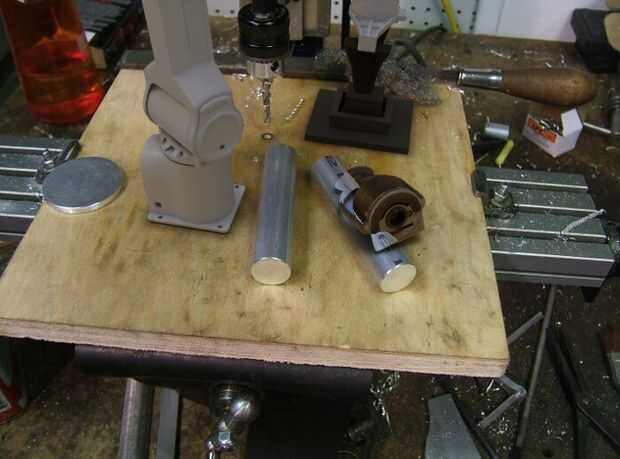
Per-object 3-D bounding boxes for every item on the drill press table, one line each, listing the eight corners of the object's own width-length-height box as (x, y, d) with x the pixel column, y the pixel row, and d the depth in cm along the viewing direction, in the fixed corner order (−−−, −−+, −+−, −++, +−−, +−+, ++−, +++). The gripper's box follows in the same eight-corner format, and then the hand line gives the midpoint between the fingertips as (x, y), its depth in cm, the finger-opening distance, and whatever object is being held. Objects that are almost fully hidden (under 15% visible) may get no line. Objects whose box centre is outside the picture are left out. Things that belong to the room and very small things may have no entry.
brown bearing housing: (332, 222, 57) (431, 208, 56) (326, 138, 65) (412, 124, 64) (341, 262, 62) (432, 251, 61) (335, 180, 71) (414, 168, 69)
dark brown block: (342, 122, 77) (345, 97, 75) (346, 106, 80) (349, 81, 77) (378, 127, 77) (382, 102, 74) (381, 111, 80) (385, 86, 77)
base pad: (304, 140, 76) (305, 121, 74) (319, 94, 84) (320, 76, 82) (407, 154, 74) (411, 136, 72) (412, 106, 83) (415, 88, 81)
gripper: (410, 0, 59) (391, 110, 69) (416, -47, 69) (399, 55, 79) (344, -8, 60) (335, 103, 69) (360, -53, 70) (350, 49, 80)
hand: (365, 77), depth 74 cm, fingers open, 7 cm apart
